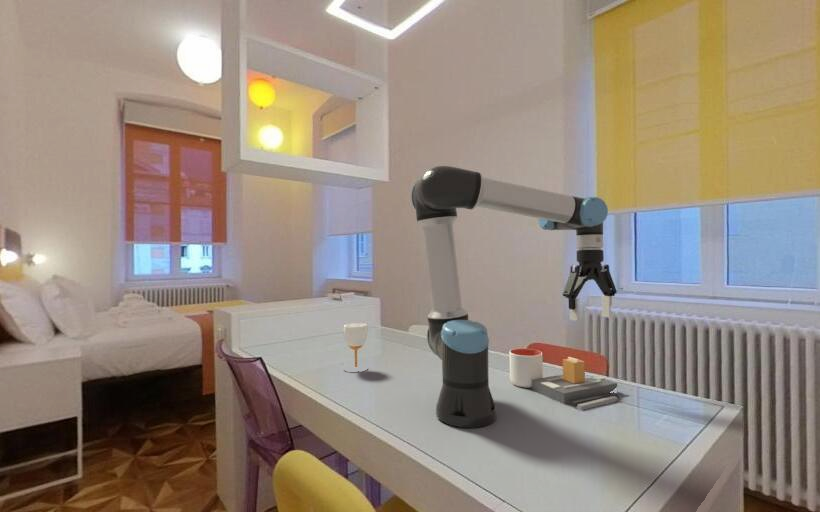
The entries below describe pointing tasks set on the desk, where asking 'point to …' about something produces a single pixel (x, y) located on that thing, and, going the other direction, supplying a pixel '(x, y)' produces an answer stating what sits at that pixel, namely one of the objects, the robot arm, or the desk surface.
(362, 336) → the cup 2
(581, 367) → the breaker toggle
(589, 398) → the black bar
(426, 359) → the desk surface
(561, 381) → the box
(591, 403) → the cord grey
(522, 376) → the cup
